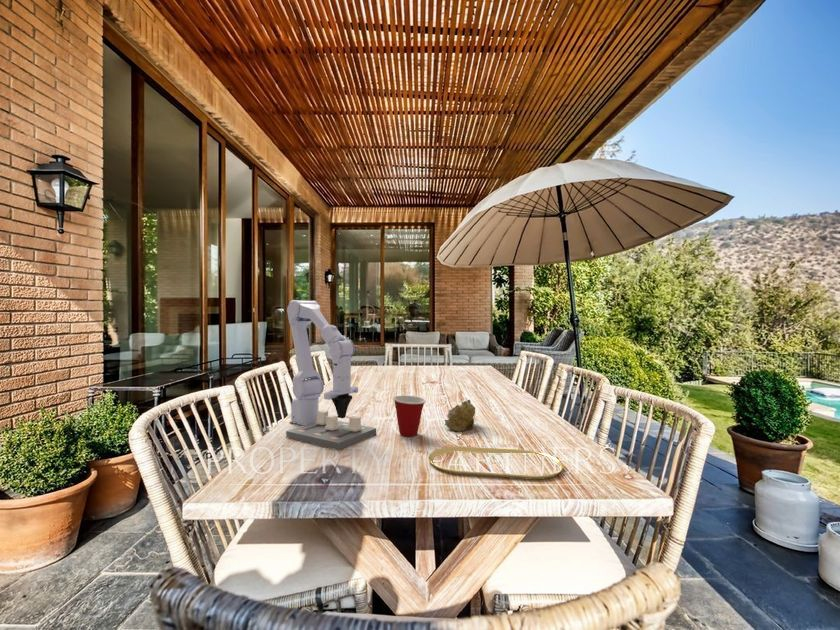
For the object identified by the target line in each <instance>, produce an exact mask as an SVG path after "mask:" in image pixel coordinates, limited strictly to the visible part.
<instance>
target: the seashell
mask: <svg viewBox="0 0 840 630" xmlns="http://www.w3.org/2000/svg"><path fill="white" fill-rule="evenodd" d="M475 413H476V406H474V405H473V404H472V402H471V399H467V400H464V401H463V402H461V404H460V405H459V404H457V405H455V406H454V407H453V408H452V409H450V410H448V413H447V415H446V417H447V419H444V422H445V423H444V426H446V427H447V428H449V429H451V430H452V431H455V432H460V433H461V432H466V431H470V430H474V424H475V419H474V417H475Z"/></svg>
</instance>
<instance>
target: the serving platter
mask: <svg viewBox="0 0 840 630" xmlns="http://www.w3.org/2000/svg"><path fill="white" fill-rule="evenodd" d="M454 451H455V452H454ZM456 451H463V452H462V453H470V452H473V453H474V452H476V453H475V454H486V453H488V452H489V453H511V452H512V453H535V454H539V455H542V456H546V457H549V458H551V459H553V460H555V461H556V462H557V463H558V464H559V465H560V471H558V472H557V473H556V472H554V473H552V474H545V475H529V474H528V475H527V474H526V475H525V474H524V475H523V474H513V473H512V474H509V473H498V472H497V473H495V472H483V471H481V472H480V471H470V470H469V471H467V470H457V469H456V470H455V469H450V468H449V469H448V468H445V467H442V466H439V465H437V464H436V463H435V459H436V458H437V457H439V456H440V455H439V454H442V455H444V454H443V453H445V454H449V453H448V452H451V453H457V452H456ZM438 455H439V456H438ZM436 456H437V457H436ZM435 457H436V458H435ZM434 458H435V459H434ZM433 460H434V462H433ZM428 461H429V463H430V464H431V466H433V467H434V468H435V469H437V470H439V469H440V470H439V471H442V472H445V473H448V472H449V474H453V473H455V474H454V475H461V474H464V475H465V476H475V475H476V476H478V477H490V476H493V477H492V478H504V477H514V478H513V479H519V478H531V479H530V480H541V479H540V478H547V479H550V478H549V477H551V478H554V477H556V476H558V475H559V474H560V473H561V472H562V471H563V470H564V465H563V463H562V461H561V460H559V459H557V457H556V458H555V457H554V456H551V455H549V454H546V453H544V452H539V451H532V450H527V449H515V448H513V449H512V448H511V449H510V448H509V449H508V448H497V447H496V448H494V447H478V446H477V447H476V446H462V445H461V446H459V445H458V446H447V447H442V448H438V449H435V450H433V451H432V452H430V453H429V455H428ZM434 463H435V464H434ZM557 474H558V475H557ZM464 475H463V476H464ZM555 475H556V476H555ZM476 476H475V477H476ZM553 476H554V477H553Z"/></svg>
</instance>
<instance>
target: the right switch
mask: <svg viewBox="0 0 840 630" xmlns="http://www.w3.org/2000/svg"><path fill="white" fill-rule="evenodd" d="M348 420H349V422H348V423H349V427H348V430H349V431H354V432H356V431H359V430H362V427H361V424H362V423H361V422H362V421H361V420H362V417H361V416H356V415H352V416H350V417H349V419H348Z"/></svg>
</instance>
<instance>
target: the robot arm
mask: <svg viewBox="0 0 840 630" xmlns="http://www.w3.org/2000/svg"><path fill="white" fill-rule="evenodd" d="M288 303H289V304H288V306H287V309H286V312H287V317H288V318H287V319H288V322H289V325H290V330H291V336H292V342H293V347H294V353H295V359H296V365H297V371H298V372H297V373H296V375H294V376H293V378H292V383H293V384H292V392H293V395H294V398H293V399H292V401H291V405H290V409H291V410H290V411H291V412H290V420H289V421H290V422H293V423H292V424H295V423H297V424H296V425H300V424H301V425H300V426H304V425H307V424H310V423H314V422H316V421H317V411H320V410H319V408H320V407H319V406H320V405H319V402H320V401H319V399H320V397H321V395H322V394H323V395H324V396H323V400H327V401H329V400H331V401H332V403H333V406H334V408H335V411H336V414H337V415H336V416H338V419H346V417H347V416H346V415H347V413H348V409H349V405H350V403H351V402H352V400H353V395H352V394H354V393H359V387H358V386H355V385H353V386H351V381H352V380H351V377H352V375H351V374H352V373H351V372H352V369H351V368H352V357H353V355H354V354H355V352H356V351H355V350H356V348H355V344H354V342H353V340H351V339H347V338H345V337H344V335H342V334H341V332H340V331H339V330H338V327H337V326H336V325H334V324H329V322H328V321H327V319H326V318H325V316H324V315H323V313H322V312H321V306H320V305H319V303H318V302H317V301H316V300H300V299H299V300H297V299H292V300H290V302H288ZM311 323H313V324H314V325H315V326H316V327H317V329H318V330H320V338H321V339H323V341H324V342H325V344H326V345H327V346H328V349H329V350H328V351H329V353H330V356H331V363H332V364H333V365H332V366H333V367H332V369H333V371H332V372H333V373H332V375H333V378H332V390H330V391H327V392H324V389H325V386H324V385H325V384H324V382H323V379H322V378H321V373H320V372H318V371H317V370H315V369H314V364H313V359H312V358H313V357H312V353H311V347H310V343H309V342H310V341H309V337H308V331H307V327H308V326H309V325H311ZM323 392H324V393H323ZM290 422H289V423H290Z"/></svg>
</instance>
